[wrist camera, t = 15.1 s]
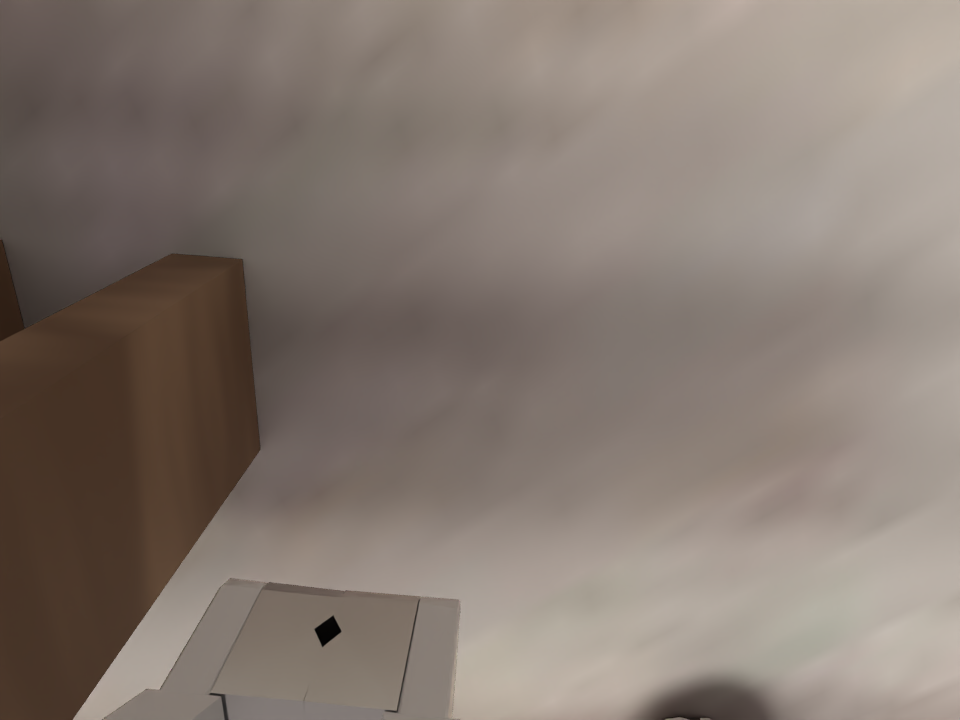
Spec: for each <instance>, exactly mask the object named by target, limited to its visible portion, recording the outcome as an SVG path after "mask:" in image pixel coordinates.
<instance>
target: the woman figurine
mask: <svg viewBox="0 0 960 720" xmlns="http://www.w3.org/2000/svg"><path fill="white" fill-rule="evenodd" d="M665 720H688V719H685V718H682V717H678V718H669V719H665ZM700 720H711V719H710V718H700Z"/></svg>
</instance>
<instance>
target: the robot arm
mask: <svg viewBox="0 0 960 720" xmlns="http://www.w3.org/2000/svg"><path fill="white" fill-rule="evenodd" d="M459 621H460V600H457V599H445V598H432V597H420V596H408V595H396V594H384V593H371V592H359V591H347V590H346V591H340V590H331V589H323V588H314V587H306V586H298V585H289V584H281V583H272V582H269V583H265V582H257V581H249V580H240V579H232V578H230V579H229V580H228V581H227V582H226V583H224V584H223V585H222V586H221V587H220V588H219V590H218V591H217V593H216V595H215V596H214V598H213V600H212V602H211V603H210V605H209V607H208V608H207V610H206V612H205V613H204V615H203V617H202V619H201V620H200V622H199V624H198V625H197V627H196V629H195V630H194V632H193V634H192V635H191V637H190V639H189V641H188V642H187V644H186V646H185V647H184V649H183V651H182V652H181V654H180V656H179V658H178V659H177V661H176V663H175V664H174V666H173V668H172V669H171V671H170V673H169V674H168V676H167V678H166V680H165V681H164V683H163V685H162V686H161V688H160V690H154V689H146V690H144V691H143V692H142V693H140V694H139V695H137V696H136V697H134V698H133V699H131V700H130V701H128V702H127V703H126V704H124V705H123V706H121V707H120V708H118V709H117V710H115V711H114V712H112V713H111V714H110V715H108V716H107V717H105V718H104V719H102V720H460V719H453V718H452V715H453V703H454V690H455V676H456V662H457V648H458V635H459Z"/></svg>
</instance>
